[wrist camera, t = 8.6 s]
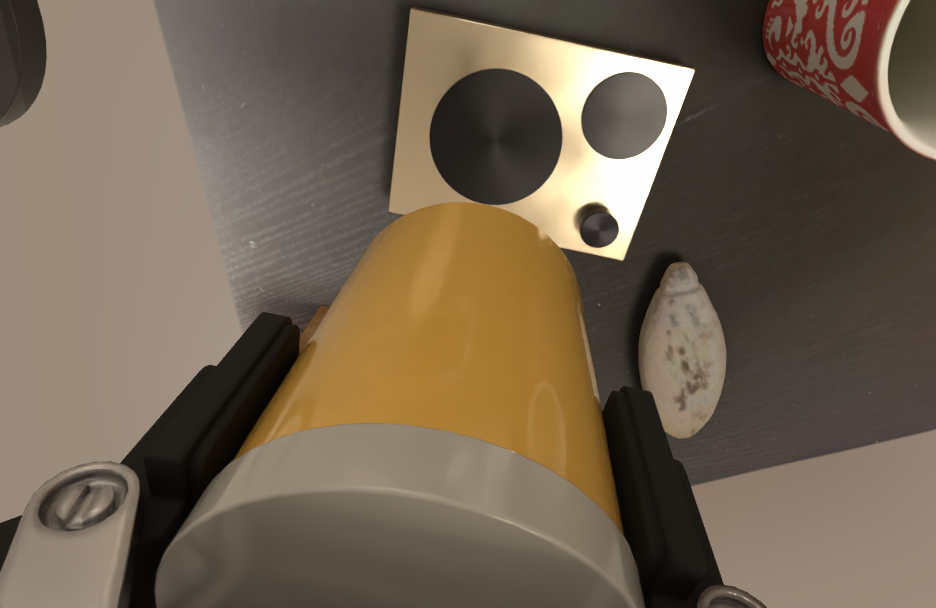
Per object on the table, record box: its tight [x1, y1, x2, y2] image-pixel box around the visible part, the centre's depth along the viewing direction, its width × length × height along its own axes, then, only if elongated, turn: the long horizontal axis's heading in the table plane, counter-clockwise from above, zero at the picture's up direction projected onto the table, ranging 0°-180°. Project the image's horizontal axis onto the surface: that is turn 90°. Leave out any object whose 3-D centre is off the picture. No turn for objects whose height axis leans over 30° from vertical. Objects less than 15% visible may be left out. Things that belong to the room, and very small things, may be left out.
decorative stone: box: [638, 262, 727, 439], centre depth 39 cm, size 6×16×3 cm, turn 14°
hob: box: [388, 7, 695, 261], centre depth 32 cm, size 16×12×4 cm
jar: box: [154, 202, 645, 608], centre depth 11 cm, size 7×7×9 cm
